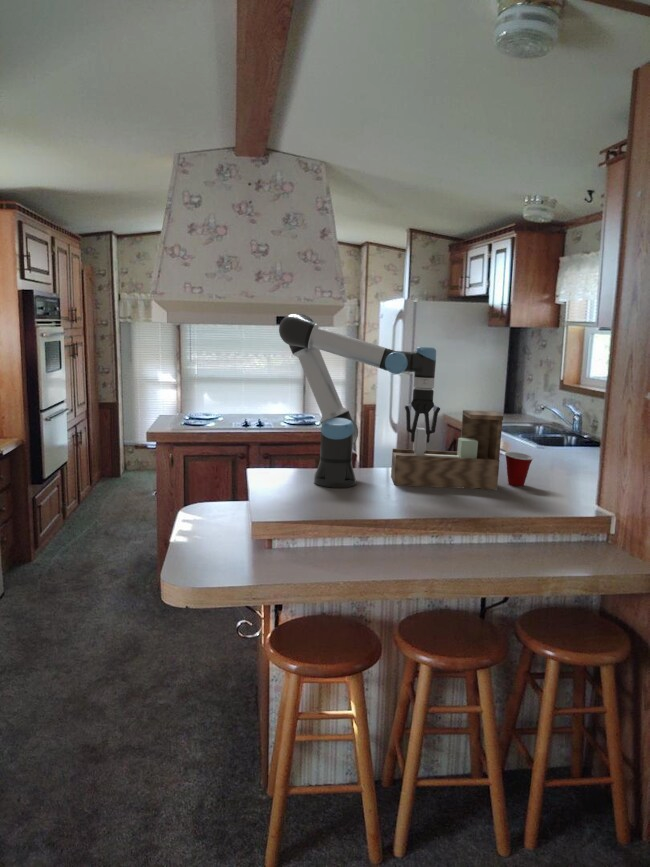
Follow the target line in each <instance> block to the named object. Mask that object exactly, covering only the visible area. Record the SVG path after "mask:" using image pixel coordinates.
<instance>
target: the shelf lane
mask: <svg viewBox="0 0 650 867" xmlns="http://www.w3.org/2000/svg"><path fill="white" fill-rule="evenodd" d="M503 420H504V415H502V414H501V413H498V412H496V411H490V410H489V411H488V410H470V409H469V410H468V409H463V410H462V418H461V430H460V438H474V439H475V440H477V441H478V449H477V459H476V458H454V457H433V456H416V455H415V454H414V451H413V448H412V449H411V448H410V449H409V448H408V449H406V448H405V449H404V448H392V455H391V457H392V458H391V469H390V470H391V471H390V472H391V473H390V477H391V481H392V483H393V485H394V486H404V487H405V486H409V487H429V488H431V487H432V488H447V487H464V488H463V489H468V488H482V489H481V490H489V489H497V490H498V482H499V481H498V480H499V470H500V455H501V454H500V453H501V442H502V431H503ZM424 454H438V455H457V451H453V450H452V451H450V450H429V449H426V452H424Z"/></svg>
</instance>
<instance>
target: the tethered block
mask: <svg viewBox="0 0 650 867" xmlns="http://www.w3.org/2000/svg"><path fill="white" fill-rule="evenodd" d="M415 433H416V434H417V441H416V451H414V454H415V455H416V456H433V457H454V458H476V459H477V449H478V441H477V440H475V439H474V438H461V437H458V439H457V450H456V452H457V455H438V454H424V448H425V434H426V427H425V428H424V427H416V431H415Z"/></svg>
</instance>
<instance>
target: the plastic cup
mask: <svg viewBox="0 0 650 867" xmlns="http://www.w3.org/2000/svg"><path fill="white" fill-rule="evenodd" d="M504 455H505V462H506V475H507V483H508V486H511V485H513V486H512V487H519V486H520V487H523V486H525V482H526V480H527V477H528V474H529V470H530V465H531V463H532V461H533V460H534V459H535V457H534V456H532V455H530V454H526V453H522V452H515V451H505V452H504Z"/></svg>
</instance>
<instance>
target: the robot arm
mask: <svg viewBox="0 0 650 867" xmlns="http://www.w3.org/2000/svg"><path fill="white" fill-rule="evenodd" d="M278 333H279V336H280V338H281V340H282V341H283V343H285V344H287V345H288V346H289V349H290V352H291V353H292V356H294V357H297V359H298V360H299V363H300V365H301V368H302V370H303V373H304V376H305V377H306V380H307V382H308V384H309V387H310V389H311V392H312V393H313V397H314V399H315V402H316V404H317V406H318V409H319V411H320V414H321V419H320V424H321V427H320V432H321V433H320V448H319V449H320V453H319V457H320V458H319V463H318V466H317V468H316V472H315V473H314V478H313V480H314V481H313V482H314V484H315V485H318V486H320V487H326V488H333V489H334V488H335V489H338V488H339V489H341V488H343V489H344V488H351V487H353V486H355V485H356V482H357V481H356V474H355V472H354V468H353V463H352V462H353V445H354V444H355V443H356V442H357V440H358V436H359V428H358V425H357V423H356V422H355V421H354V420H353V418H352V415H351V413H350V411H349V409H348V408H345V407H344V406H343V404H342V401H341V399H340V397H339V394H338V392H337V389H336V387H335V384H334V382H333V380H332V377H331V373H330V372H329V369H328V367H327V365H326V362H325V360H324V357H323V355H322V352H321V351H324V352H326V353H330V354H332V355H336V356H339V357H342V358H345V359H349V360H353V361H356V362H358V363H361V364H362V363H363V364H365V365H368V366H371V367H374V368H378V369H381V370H383V371H387V372H389V374H390V373H391V374H394V375H399V374H401V373H403V372H405V373H406V372H407V373H413V374H414V375H413V388H414V389H412V392H413V393H412V400H411V403H410V404H407V405H404V406H403V407H404V410H405V417H406V419H405V421H406V432H408V433H410V441H411V443H413V446H412V450H413V451H416V441H417V434H416V428H417V427H418V421H419V417H420V415H421V414H423V416H424V422H425V423H424V424H425V430H426V434H425V448H424V452H426V450H427V443H428V444H429V442H430V439H431V438H430V437H431V434H435V432H436V427H437V421H438V415H439V412H440V411H441V407H439V406H438V405H435V403H434V393H435V392H434V390H433V389H434V388H435V374H436V366H437V365H436V363H437V349H436V348H435V347H430V346H417V347H416V348H415V351H402V350H401V351H400V350H394V349H391V348H387V347H385V346H380V345H377V344H375V343H371V342H368V341H365V340H362V339H358V338H356V337H352V336H348V335H345V334H342V333H339V332H336V331H334V330H333V331H332V330H329V329H326V328H324V327H321V326H319V324H318V323H316V322H315V321H314V320H313V319H312V318H311V317H310V316H308V315H305V314H299V313H291V314H288V315H286V316H285V317H284V318H282V319H281V321H280V323H279V327H278ZM412 409H413V410H414V412H415V413H414V415H413V416H414V418H413V421H412V424H411V410H412ZM432 409H433V415H432V421H431V425H430V413H429V412H431V410H432ZM411 426H412V427H411ZM430 426H431V427H430Z"/></svg>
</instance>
